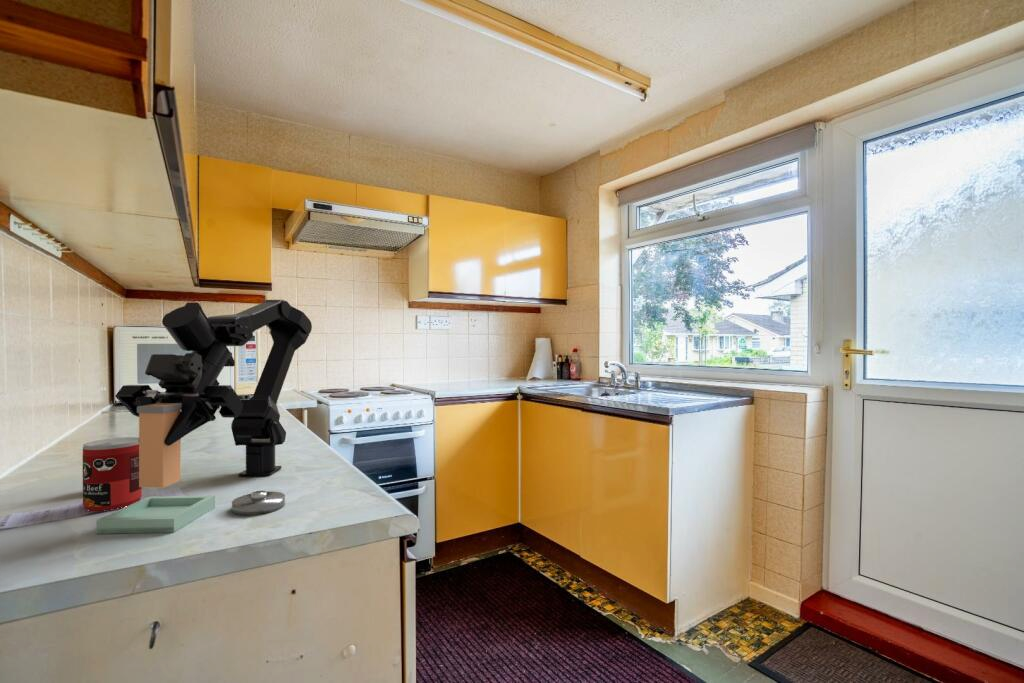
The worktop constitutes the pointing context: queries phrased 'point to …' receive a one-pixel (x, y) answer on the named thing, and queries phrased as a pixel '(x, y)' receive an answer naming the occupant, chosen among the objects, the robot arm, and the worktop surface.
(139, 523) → the tray
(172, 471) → the grey-capped orange pillar
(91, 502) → the canned food
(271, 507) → the metal lid
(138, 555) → the worktop surface
